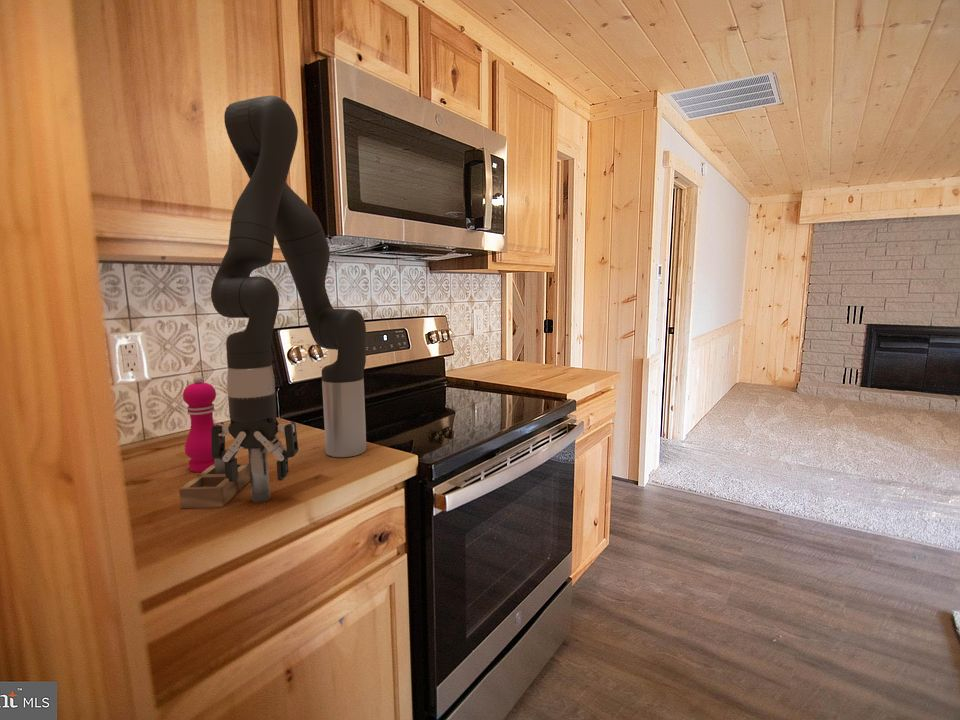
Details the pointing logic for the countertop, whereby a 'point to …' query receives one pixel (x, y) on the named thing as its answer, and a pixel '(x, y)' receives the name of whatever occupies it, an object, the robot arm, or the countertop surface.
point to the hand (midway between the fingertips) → (257, 479)
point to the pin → (259, 474)
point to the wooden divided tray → (213, 486)
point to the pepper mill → (200, 424)
